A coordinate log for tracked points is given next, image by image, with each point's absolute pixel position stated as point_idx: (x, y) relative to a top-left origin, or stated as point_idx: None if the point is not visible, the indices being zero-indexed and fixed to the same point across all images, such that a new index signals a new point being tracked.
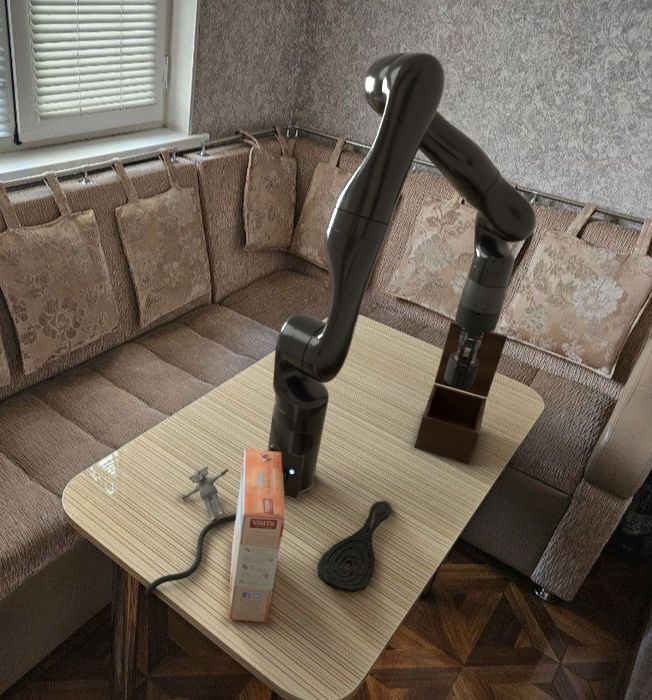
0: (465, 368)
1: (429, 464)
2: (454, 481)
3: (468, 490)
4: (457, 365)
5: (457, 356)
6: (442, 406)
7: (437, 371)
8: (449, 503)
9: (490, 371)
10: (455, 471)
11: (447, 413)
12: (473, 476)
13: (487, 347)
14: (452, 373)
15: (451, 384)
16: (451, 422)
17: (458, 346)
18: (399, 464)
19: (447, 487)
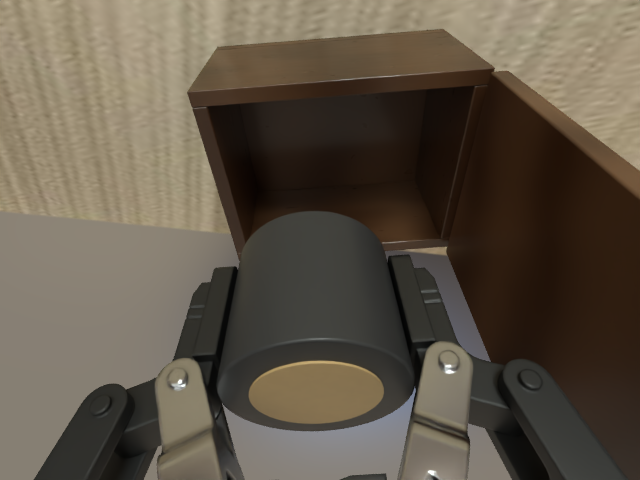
0: (116, 454)
1: (175, 112)
2: (163, 180)
3: (160, 209)
4: (53, 458)
5: (162, 461)
6: (439, 98)
7: (520, 95)
8: (78, 187)
9: (483, 325)
10: (202, 174)
11: (430, 112)
12: (217, 209)
13: None
14: (232, 301)
15: (215, 268)
16: (405, 125)
17: (598, 285)
18: (93, 26)
19: (127, 172)
